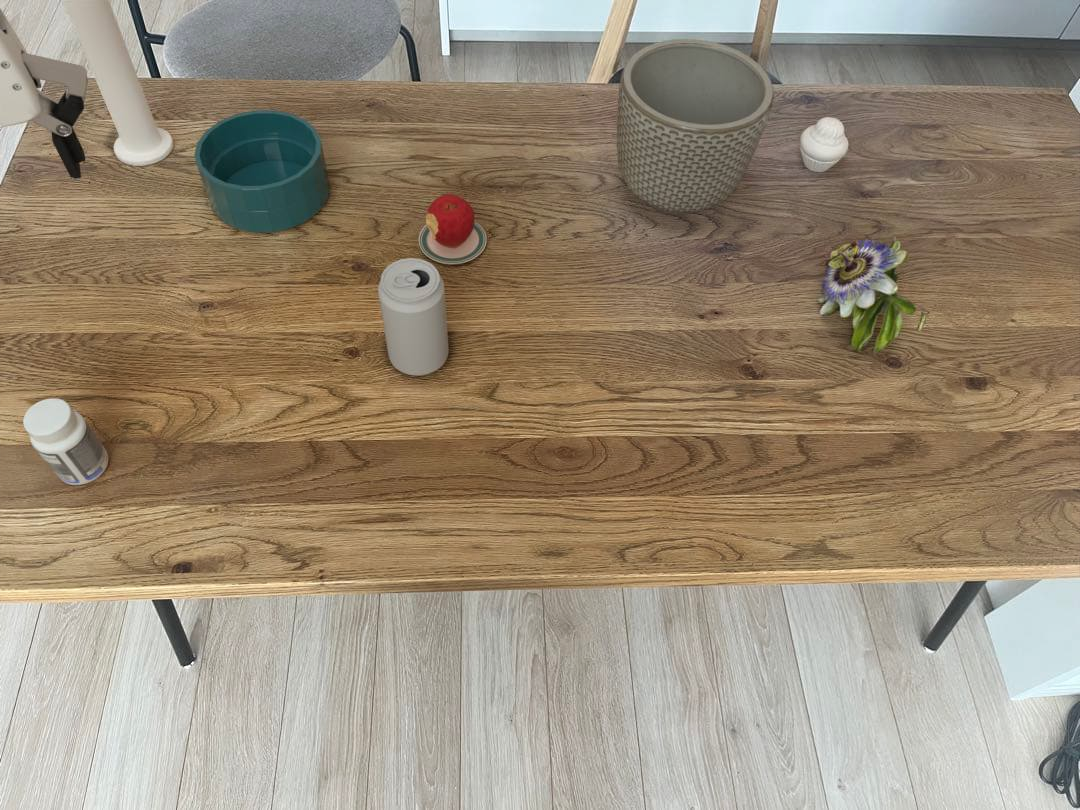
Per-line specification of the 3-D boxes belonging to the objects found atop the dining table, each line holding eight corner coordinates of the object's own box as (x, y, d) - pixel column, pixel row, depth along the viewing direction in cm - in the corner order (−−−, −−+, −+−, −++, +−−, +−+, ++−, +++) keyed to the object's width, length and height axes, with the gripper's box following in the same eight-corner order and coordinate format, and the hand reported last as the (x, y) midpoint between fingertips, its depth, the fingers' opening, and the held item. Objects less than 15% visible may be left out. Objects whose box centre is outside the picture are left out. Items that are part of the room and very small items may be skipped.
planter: (690, 262, 103) (719, 152, 90) (577, 194, 109) (589, 81, 96) (767, 191, 111) (804, 81, 98) (658, 131, 117) (679, 20, 104)
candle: (114, 169, 108) (26, -29, 87) (116, 133, 111) (32, -64, 91) (173, 163, 109) (100, -35, 88) (173, 127, 113) (103, -69, 92)
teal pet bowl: (203, 236, 102) (186, 190, 96) (219, 157, 110) (204, 110, 104) (326, 234, 103) (316, 188, 97) (333, 156, 111) (324, 109, 105)
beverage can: (454, 373, 92) (450, 296, 82) (394, 385, 90) (383, 308, 81) (441, 328, 95) (436, 249, 85) (383, 339, 94) (371, 260, 84)
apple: (470, 274, 100) (469, 233, 95) (407, 255, 101) (402, 213, 96) (496, 230, 104) (496, 187, 99) (435, 212, 106) (432, 169, 100)
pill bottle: (104, 438, 85) (71, 387, 78) (113, 475, 83) (79, 427, 76) (53, 454, 84) (14, 404, 77) (61, 493, 81) (21, 445, 75)
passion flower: (810, 334, 104) (814, 233, 101) (906, 332, 103) (914, 229, 99) (824, 360, 94) (829, 249, 90) (931, 359, 92) (941, 245, 88)
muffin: (847, 164, 115) (866, 119, 109) (824, 186, 112) (842, 142, 106) (807, 143, 117) (824, 98, 111) (783, 164, 114) (798, 119, 108)
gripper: (32, -71, 61) (119, 132, 75) (-250, -34, 57) (-102, 174, 71) (37, -17, 57) (128, 187, 71) (-265, 27, 53) (-106, 234, 67)
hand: (13, 180), depth 71 cm, fingers open, 9 cm apart
